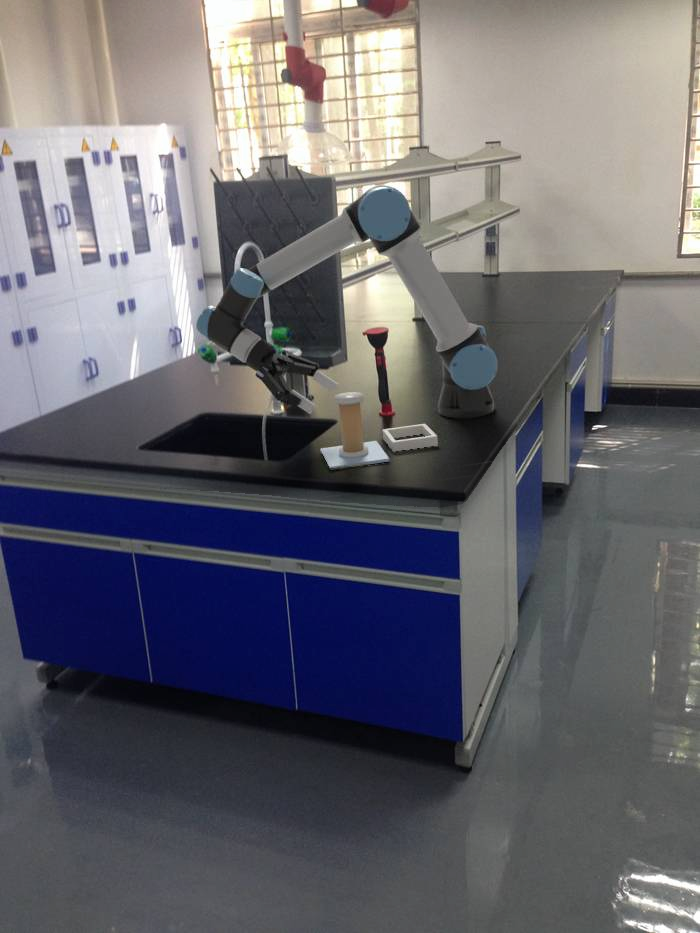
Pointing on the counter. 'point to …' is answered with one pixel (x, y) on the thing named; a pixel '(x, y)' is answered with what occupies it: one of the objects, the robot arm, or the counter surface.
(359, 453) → the spool
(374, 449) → the pad
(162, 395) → the counter surface
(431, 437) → the collar
